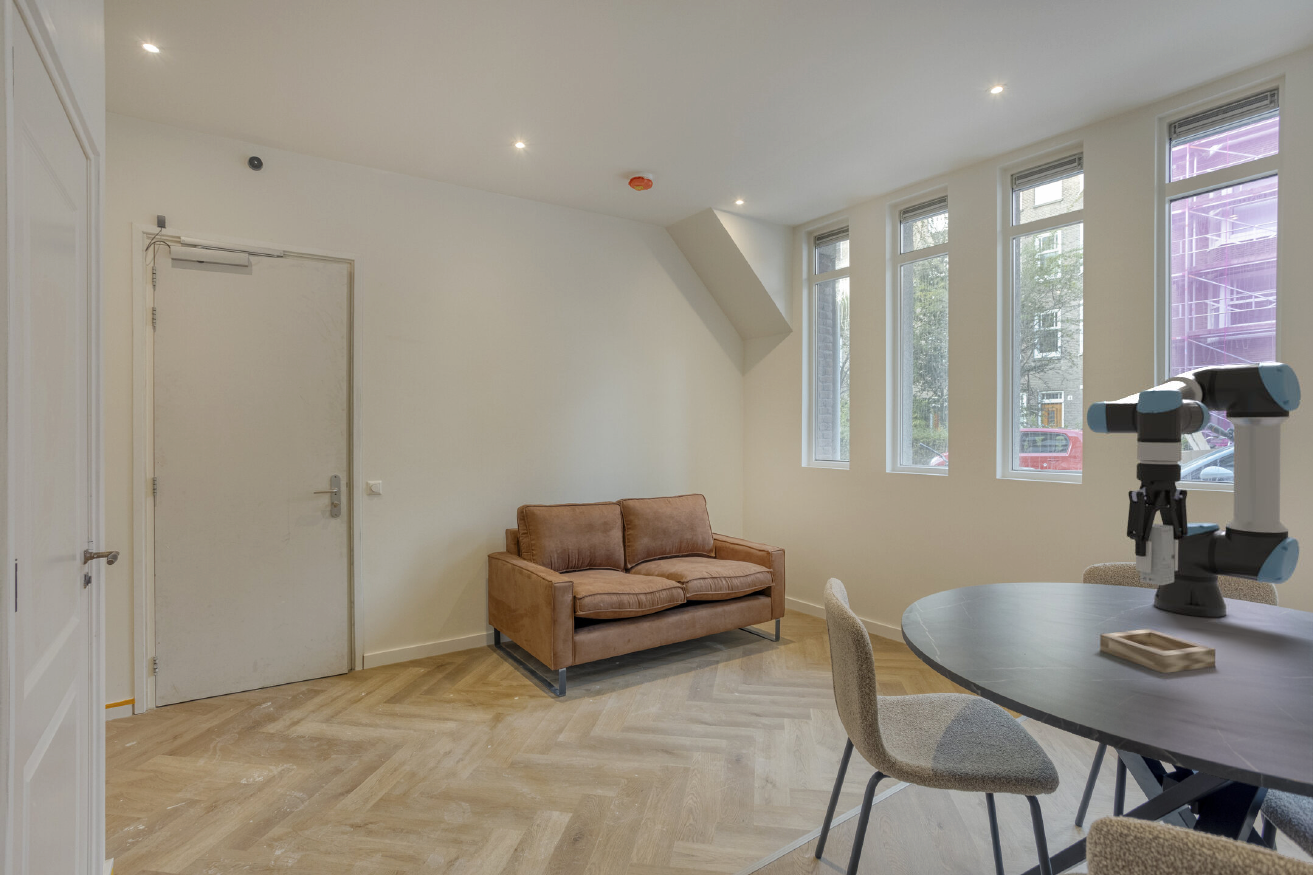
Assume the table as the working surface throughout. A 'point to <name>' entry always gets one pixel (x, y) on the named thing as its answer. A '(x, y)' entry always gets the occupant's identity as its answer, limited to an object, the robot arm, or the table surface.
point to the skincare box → (1160, 556)
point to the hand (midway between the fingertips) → (1156, 570)
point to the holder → (1157, 650)
